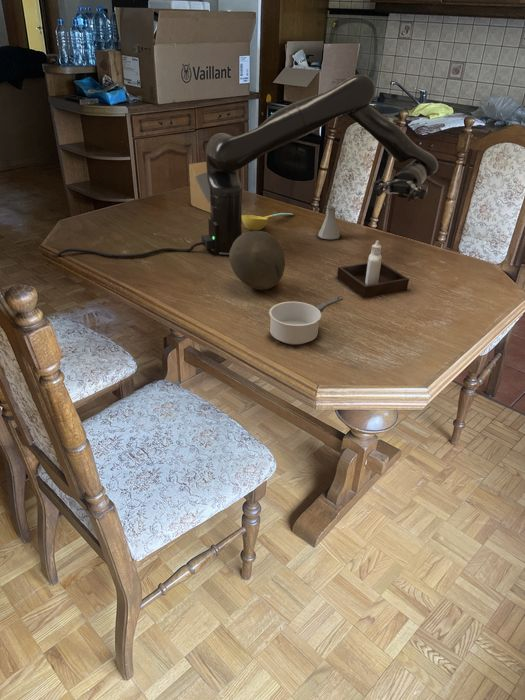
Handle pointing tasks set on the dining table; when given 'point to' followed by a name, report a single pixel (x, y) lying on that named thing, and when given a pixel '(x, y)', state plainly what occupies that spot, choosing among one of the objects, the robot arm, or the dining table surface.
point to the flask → (329, 225)
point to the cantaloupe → (257, 259)
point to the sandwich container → (199, 186)
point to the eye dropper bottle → (374, 265)
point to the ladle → (257, 221)
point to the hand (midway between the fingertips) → (394, 194)
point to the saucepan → (297, 321)
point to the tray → (386, 284)
